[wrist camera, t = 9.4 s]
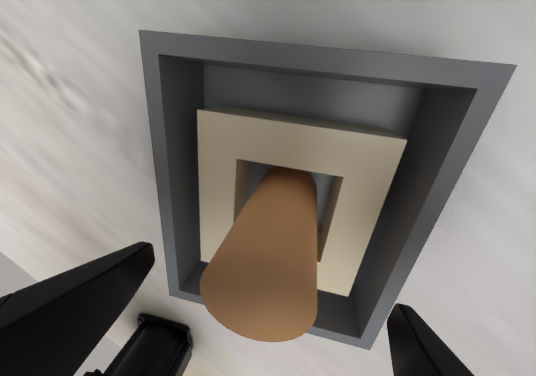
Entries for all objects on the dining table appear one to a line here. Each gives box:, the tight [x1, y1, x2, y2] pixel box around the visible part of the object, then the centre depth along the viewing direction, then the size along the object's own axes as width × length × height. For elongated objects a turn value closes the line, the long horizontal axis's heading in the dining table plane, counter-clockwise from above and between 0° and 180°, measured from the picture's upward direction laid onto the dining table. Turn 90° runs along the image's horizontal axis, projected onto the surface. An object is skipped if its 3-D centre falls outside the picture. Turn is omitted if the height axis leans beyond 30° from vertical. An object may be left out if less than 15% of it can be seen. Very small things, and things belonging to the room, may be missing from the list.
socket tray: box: [139, 30, 517, 350], centre depth 14 cm, size 14×16×5 cm
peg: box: [200, 166, 317, 342], centre depth 11 cm, size 4×4×9 cm
